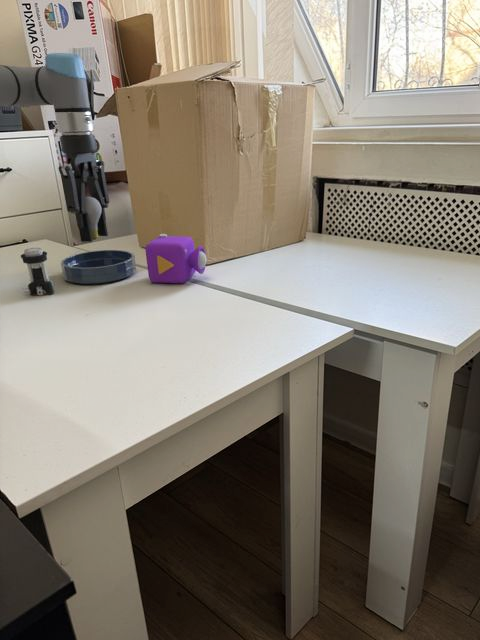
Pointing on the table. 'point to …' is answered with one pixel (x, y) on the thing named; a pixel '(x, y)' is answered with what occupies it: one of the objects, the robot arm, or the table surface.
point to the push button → (37, 272)
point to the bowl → (98, 266)
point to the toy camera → (174, 259)
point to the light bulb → (93, 214)
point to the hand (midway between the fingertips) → (94, 238)
